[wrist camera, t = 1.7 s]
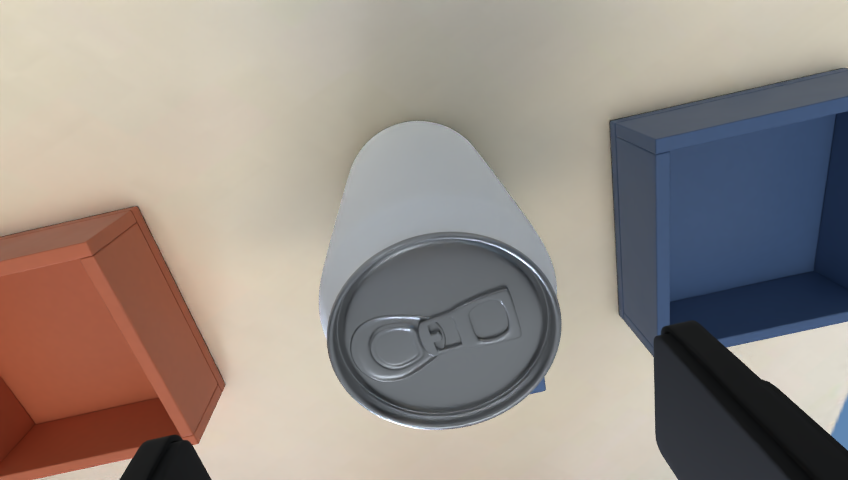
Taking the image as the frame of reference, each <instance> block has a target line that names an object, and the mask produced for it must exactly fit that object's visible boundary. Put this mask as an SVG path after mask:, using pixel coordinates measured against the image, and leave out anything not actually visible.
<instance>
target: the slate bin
mask: <svg viewBox="0 0 848 480" xmlns="http://www.w3.org/2000/svg"><path fill="white" fill-rule="evenodd" d="M610 132H611V153H612V174H613V194H614V215H615V235H616V256H617V276H618V297H619V315H620V316H621V317H622V319H623V320H624V321H625V322H626V324H627V325H628V326H629V327H630V328H631V330H632V331H633V332H634V333H635V335H636V336H637V337H638V338H639V340H640V341H641V342H642V343H643V344H644V346H645V347H646V348H647V349H648V351H649V352H650V353H651V354H652V355H653V357H654V338H655V336H658V335H661V330H662V328H663V327H664V326H668V325H673V324H677V323H682V322H686V321H691V320H694V321H697V322H698V323H699V324H701V325H702V326H703V327H704V328H705V329H706V330H707V331H708V332H709V333H711V334H712V335H713V336H714V337H715V338H716V339H717V340H718V341H719V342H720V343H722V344H723V345H724V346H725V347H731V346H735V345H740V344H745V343H749V342H754V341H759V340H763V339H768V338H773V337H777V336H782V335H787V334H791V333H796V332H801V331H805V330H810V329H815V328H819V327H824V326H829V325H833V324H838V323H843V322H847V321H848V68H842V69H837V70H833V71H828V72H824V73H820V74H815V75H811V76H806V77H802V78H798V79H793V80H789V81H784V82H780V83H776V84H771V85H767V86H762V87H758V88H753V89H749V90H745V91H740V92H736V93H731V94H727V95H723V96H718V97H714V98H709V99H705V100H700V101H696V102H692V103H687V104H683V105H678V106H674V107H670V108H665V109H661V110H656V111H652V112H647V113H643V114H639V115H634V116H630V117H625V118H621V119H617V120H612V121H610Z"/></svg>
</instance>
